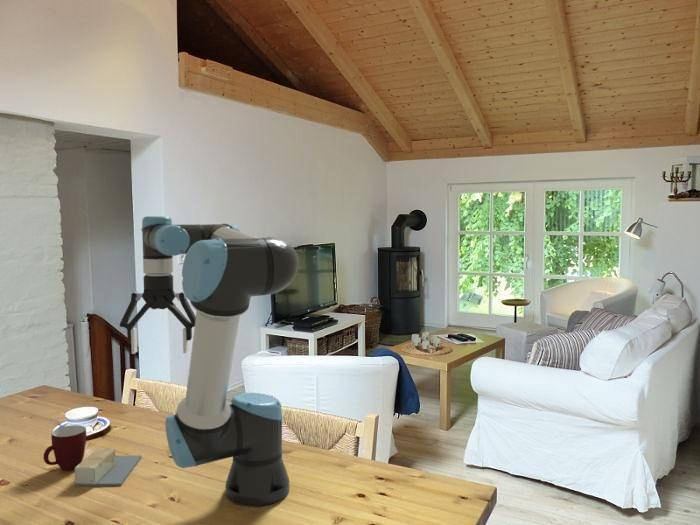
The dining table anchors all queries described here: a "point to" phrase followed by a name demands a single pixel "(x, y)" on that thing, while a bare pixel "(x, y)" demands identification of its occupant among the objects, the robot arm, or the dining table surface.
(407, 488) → the dining table surface
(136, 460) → the mat
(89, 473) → the box
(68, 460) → the mug
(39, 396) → the dining table surface
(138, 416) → the dining table surface
